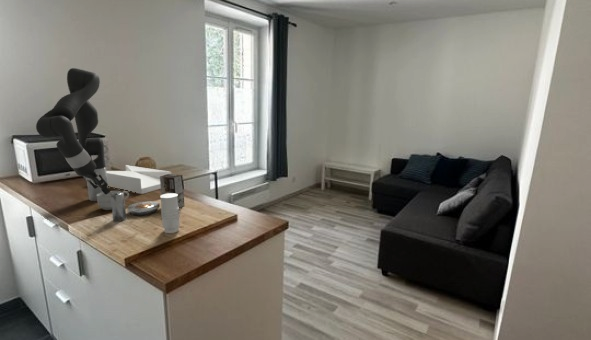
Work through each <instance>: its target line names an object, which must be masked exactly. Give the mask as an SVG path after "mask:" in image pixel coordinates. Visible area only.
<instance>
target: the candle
mask: <svg viewBox="0 0 591 340" xmlns="http://www.w3.org/2000/svg"><path fill="white" fill-rule="evenodd" d="M177 196H178V194H175V193H168V194H163V195H161V194H160V195H159V198H160V204H161V206H160V207H161V208H160V214H161V215H160V216H161V220H162V222H161V223H162V228H163V232H164V233H165V234H173V233H174V234H175V233H177V232H179V231H180V225H181V224H180V223H181V221H180V217H181V213H180V208H179V207H178V200H177Z"/></svg>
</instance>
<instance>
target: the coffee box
mask: <svg viewBox="0 0 591 340" xmlns="http://www.w3.org/2000/svg"><path fill="white" fill-rule="evenodd" d="M183 179H184V178H183V174H175V173H172V174H166V175H163V176H160V185H161V189H160V192H161V194H160V196H161V195H163V194H168V193H175V194H178V196H177V200H178V207H180V208H182V207H184V206H185V195H184V194H185V192H184V180H183Z"/></svg>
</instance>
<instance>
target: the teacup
mask: <svg viewBox="0 0 591 340" xmlns="http://www.w3.org/2000/svg"><path fill="white" fill-rule="evenodd" d="M116 192H123V193H124V194H126V196H124V201H125V202H126V200H127V199H128V198H129V196H130V193H129V191H125V190H110V192H109V193H108V194H107V195H106V194H104V193H99V194H97V195H96V196H97V201H96V202H97V204H98V207H99V208H100V209H102V210H104V211H110V210H111V211H112V206H111V197H110V194H112V193H116Z"/></svg>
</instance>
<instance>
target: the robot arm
mask: <svg viewBox="0 0 591 340" xmlns="http://www.w3.org/2000/svg"><path fill="white" fill-rule="evenodd" d="M66 83H67V87H68V90H69V93H68V94H66V95H63V96H62V97H60V99H58V101H57V102H56V104H55V105H54V106H53V108H52V109H50V110H49V111H47V112H46V113H44V114H43V115H42V116H40V117H39V119H38V120H37V122H36V125H35V127H36V128H35V129H36V132H37V133H38V134H39V135H40V136H41V137H44V138H54V137H60V136H61V137H62V138H61V139H59V140H58V141H57V142H56V149H58V150H59V152H60V153H61V155H62V156H63V158H65V161H66V162H67V163H68V165H69V166H70V168H71V169H72V170H73V171H74V172H75V173H76V175H77V176H81V177H82V178H83V180H85V181H86V183H87V185H86V186H87V193H88V199H89V201H90V202H98V201H97V196H96V195H97V194H99V193H104V194H106V195H107V194H108V193H109V192H110V191H111V190H110V189H109V187H108V182H107V174H106V171H107V167H106V159H105V147H104V146H105V144H104V141H103V139H102V138H101V137H89V135H91V133H92V132H94V130H95V129H96V128H97V126H98V123H99V117H98V116H99V115H98V110H97V109H96V108H95V106H94V105H93V104H92V102H91V101H90V99H91V98H92V97H93V96H94V95H95V94H96V93H97V92H98V90H99V88H100V84H101V81H100V77H99V75H98V74H97V73H95V72H93V71H90V70H89V71H88V70H84V69H80V68H75V67H73V68H70V69H69V70H68V71H67V74H66ZM73 119H74V122H75V126H76V130H77V135H76V133H75V129H74V126H73V123H72V122H71V121H73ZM91 156H97V157H96V158H94V159H93V158H92V157H91Z"/></svg>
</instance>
